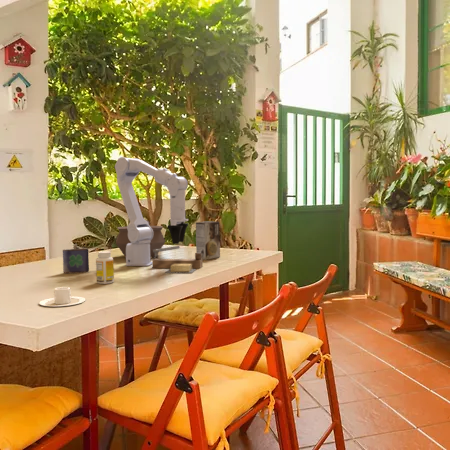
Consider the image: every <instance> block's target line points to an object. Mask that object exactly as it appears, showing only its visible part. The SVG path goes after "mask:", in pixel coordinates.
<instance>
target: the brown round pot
mask: <svg viewBox="0 0 450 450" xmlns="http://www.w3.org/2000/svg"><path fill="white" fill-rule="evenodd" d="M146 221H147V222H148V223H149V226H150V227H151V228H152V230H153V238H152V239H151V242H150V259H151V257H152V258H155V253H154V252H153V249H161V248H163V246H164V244H165V243H166V240H165V237H164V235H163V233H162V229H163V228H164V226H162V225H150V224H151V222H150V221H149V220H148V219H147V220H146ZM127 226H128V225H127ZM127 226H118V227H117V230H118V231H119V232H118V235H117V236H116V240H115V244H116V246H117V247H118V248H119V250H120V251H121V253H122V254H123V255H124V257H125V258H126V246H127V244H128V243H131V241H130V240H129V239H128V230H127ZM159 253H160V252H158V254H159Z"/></svg>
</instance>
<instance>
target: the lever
mask: <svg viewBox="0 0 450 450" xmlns="http://www.w3.org/2000/svg"><path fill="white" fill-rule="evenodd" d="M178 249H181V248H180V245H174V246H168V247H162V248H161V249H153V252H154V253H155V257H154V259H159V253H161V252H166V251H172V250H178ZM158 252H159V253H158Z"/></svg>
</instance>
